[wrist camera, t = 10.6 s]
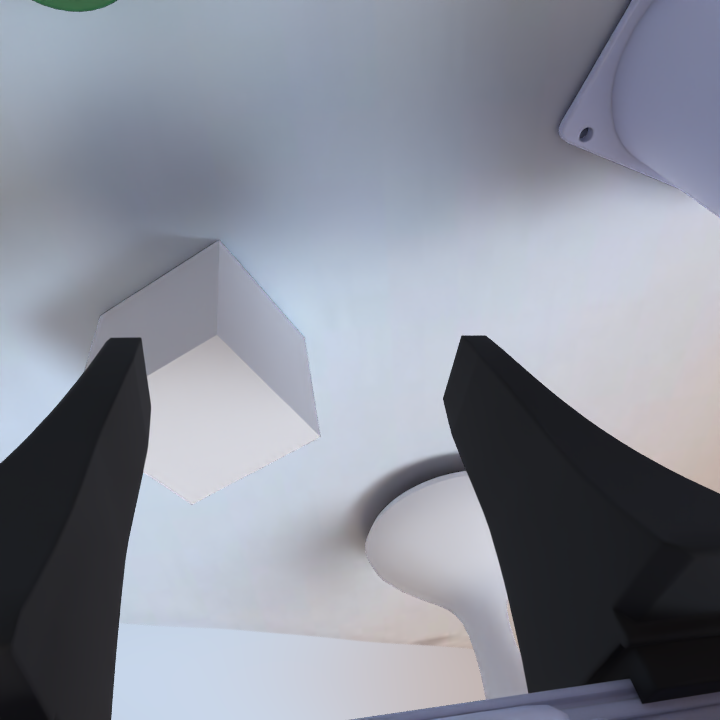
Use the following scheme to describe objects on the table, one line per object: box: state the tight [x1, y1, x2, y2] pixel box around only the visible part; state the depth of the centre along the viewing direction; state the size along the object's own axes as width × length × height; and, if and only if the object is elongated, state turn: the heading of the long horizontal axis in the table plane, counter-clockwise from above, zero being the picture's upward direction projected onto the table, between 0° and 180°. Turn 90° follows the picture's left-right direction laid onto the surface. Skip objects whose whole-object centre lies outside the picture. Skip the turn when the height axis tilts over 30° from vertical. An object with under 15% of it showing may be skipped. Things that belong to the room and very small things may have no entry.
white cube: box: [84, 240, 321, 505], centre depth 22 cm, size 6×6×6 cm
